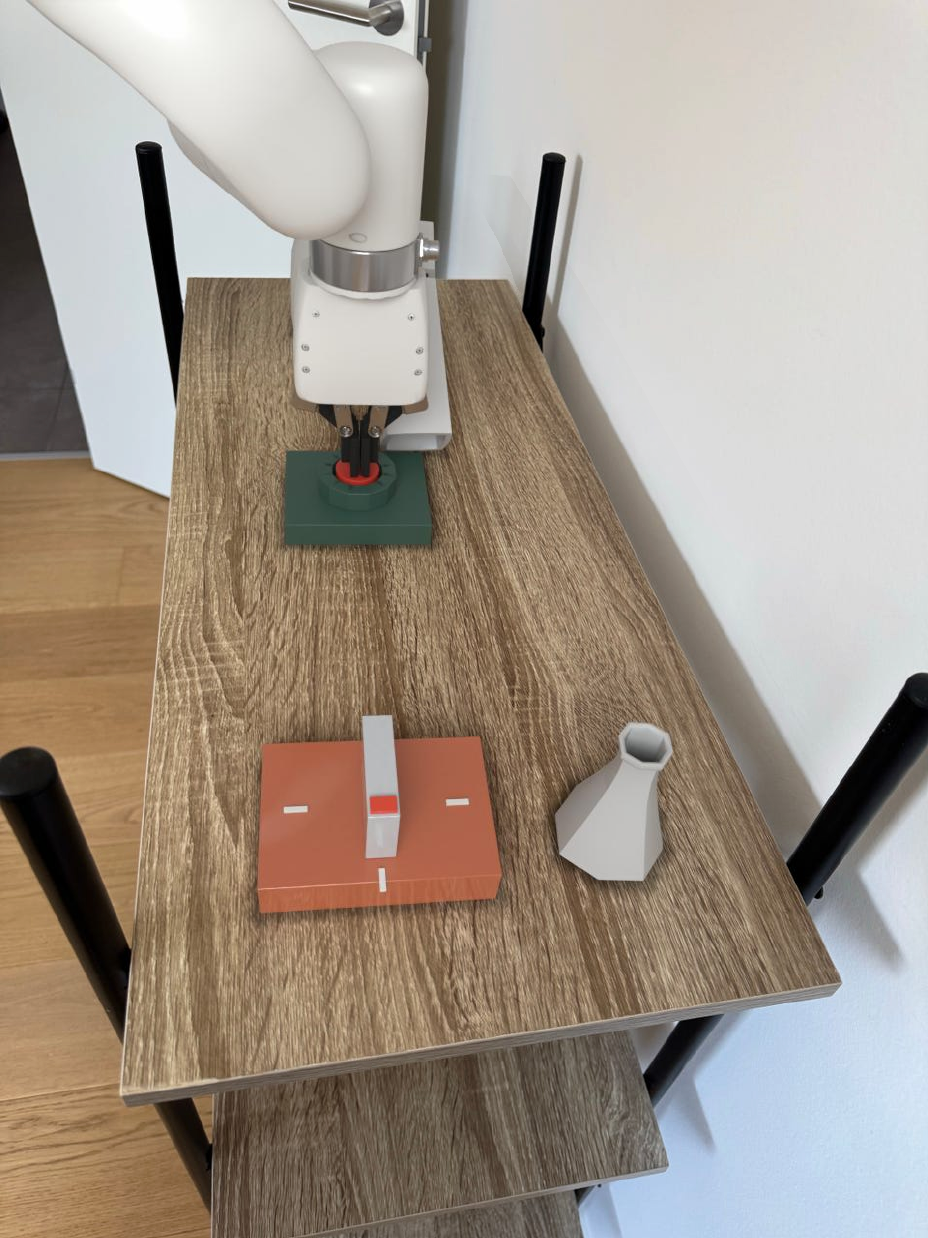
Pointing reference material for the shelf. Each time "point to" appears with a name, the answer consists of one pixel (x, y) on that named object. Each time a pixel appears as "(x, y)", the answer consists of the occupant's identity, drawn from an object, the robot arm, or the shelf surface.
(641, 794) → the flask
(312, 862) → the panel
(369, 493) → the button block
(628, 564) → the shelf surface
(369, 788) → the tap handle
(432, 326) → the faucet
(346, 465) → the button
